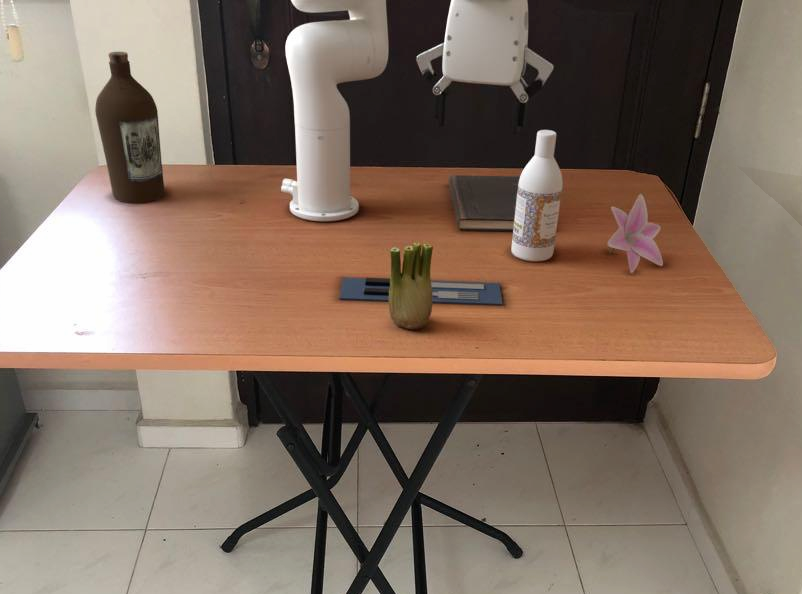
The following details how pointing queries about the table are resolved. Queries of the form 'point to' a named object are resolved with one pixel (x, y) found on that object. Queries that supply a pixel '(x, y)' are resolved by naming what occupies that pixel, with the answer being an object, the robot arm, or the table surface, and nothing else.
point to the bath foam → (538, 202)
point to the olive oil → (129, 135)
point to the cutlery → (434, 285)
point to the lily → (636, 235)
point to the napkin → (488, 296)
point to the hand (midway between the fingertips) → (479, 128)
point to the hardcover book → (484, 202)
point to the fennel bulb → (411, 286)
